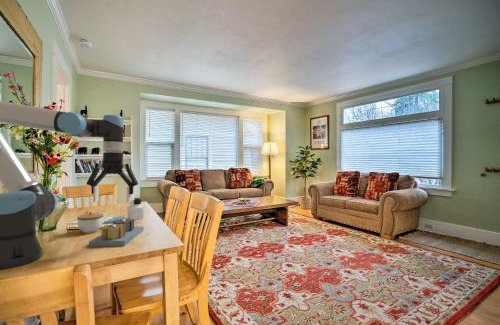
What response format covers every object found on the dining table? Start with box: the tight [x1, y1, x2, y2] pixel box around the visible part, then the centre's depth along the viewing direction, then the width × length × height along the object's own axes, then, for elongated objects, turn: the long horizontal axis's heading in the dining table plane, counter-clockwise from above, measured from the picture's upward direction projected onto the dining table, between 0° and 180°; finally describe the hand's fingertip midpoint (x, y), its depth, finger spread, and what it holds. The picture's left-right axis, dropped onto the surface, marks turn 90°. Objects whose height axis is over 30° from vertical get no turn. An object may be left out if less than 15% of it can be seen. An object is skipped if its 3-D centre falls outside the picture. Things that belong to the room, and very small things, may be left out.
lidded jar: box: [76, 211, 104, 234], centre depth 125 cm, size 11×11×9 cm
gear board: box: [88, 218, 144, 247], centre depth 115 cm, size 14×22×7 cm, turn 4°
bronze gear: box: [100, 223, 125, 240], centre depth 110 cm, size 9×9×4 cm
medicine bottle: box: [126, 197, 145, 221], centre depth 151 cm, size 7×7×12 cm
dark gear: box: [112, 217, 135, 232], centre depth 120 cm, size 9×9×4 cm
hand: (112, 201), depth 110 cm, fingers open, 13 cm apart
